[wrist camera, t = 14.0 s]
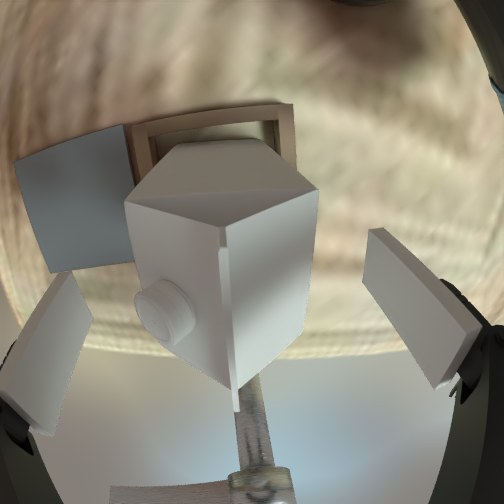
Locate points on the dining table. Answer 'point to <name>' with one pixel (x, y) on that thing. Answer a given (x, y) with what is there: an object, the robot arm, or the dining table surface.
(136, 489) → the signpost
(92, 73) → the dining table surface
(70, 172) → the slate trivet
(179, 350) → the milk carton
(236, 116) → the frame
